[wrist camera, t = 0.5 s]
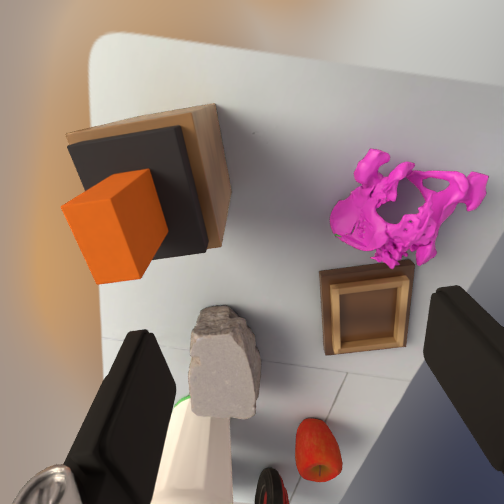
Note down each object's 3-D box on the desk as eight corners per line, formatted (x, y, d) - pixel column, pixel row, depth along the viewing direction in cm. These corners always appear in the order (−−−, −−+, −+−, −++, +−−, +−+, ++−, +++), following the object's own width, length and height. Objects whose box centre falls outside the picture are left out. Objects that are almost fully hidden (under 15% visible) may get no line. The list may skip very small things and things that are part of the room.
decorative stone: (216, 387, 44) (282, 370, 42) (208, 436, 38) (285, 419, 36) (164, 311, 38) (239, 286, 36) (145, 354, 32) (233, 327, 29)
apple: (329, 406, 46) (342, 460, 39) (334, 430, 48) (348, 485, 42) (287, 413, 46) (293, 467, 40) (295, 437, 49) (302, 491, 42)
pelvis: (318, 234, 32) (333, 265, 27) (350, 140, 28) (377, 153, 22) (423, 254, 34) (460, 289, 28) (470, 168, 29) (524, 187, 23)
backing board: (318, 270, 35) (323, 281, 33) (410, 258, 34) (419, 269, 32) (323, 348, 40) (327, 361, 38) (402, 339, 39) (409, 352, 38)
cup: (242, 438, 49) (239, 571, 36) (164, 436, 49) (130, 569, 35) (245, 385, 43) (243, 519, 30) (156, 382, 43) (112, 517, 29)
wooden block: (137, 116, 27) (63, 133, 16) (215, 103, 27) (191, 112, 16) (163, 202, 31) (116, 262, 20) (231, 192, 30) (221, 247, 20)
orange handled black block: (80, 141, 17) (-10, 168, 11) (180, 124, 16) (142, 143, 11) (124, 253, 20) (73, 320, 14) (209, 242, 20) (192, 305, 14)
